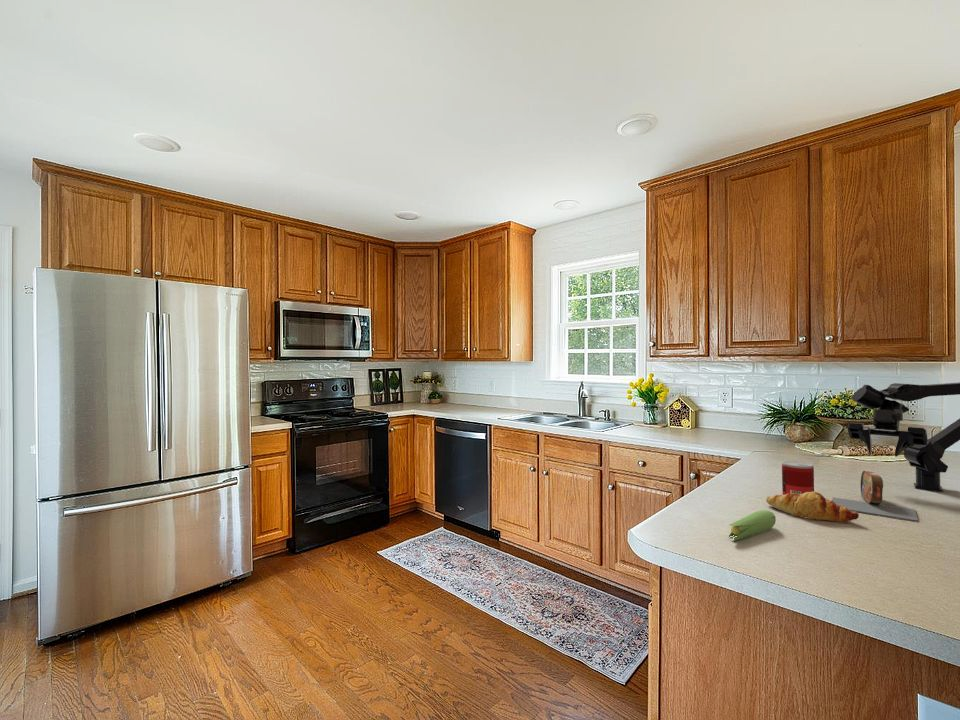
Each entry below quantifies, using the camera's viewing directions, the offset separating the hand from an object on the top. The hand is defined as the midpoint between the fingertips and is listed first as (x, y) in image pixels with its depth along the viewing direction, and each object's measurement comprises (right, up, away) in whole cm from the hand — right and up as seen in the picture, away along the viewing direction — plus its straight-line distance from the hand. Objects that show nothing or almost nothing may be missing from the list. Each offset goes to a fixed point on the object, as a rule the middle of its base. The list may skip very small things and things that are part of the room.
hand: (882, 454), depth 141 cm
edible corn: (-60, -14, -31) cm, 69 cm away
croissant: (-36, -13, -17) cm, 42 cm away
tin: (-10, -13, -8) cm, 18 cm away
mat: (-16, -13, -14) cm, 24 cm away
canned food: (-30, -13, -4) cm, 33 cm away
